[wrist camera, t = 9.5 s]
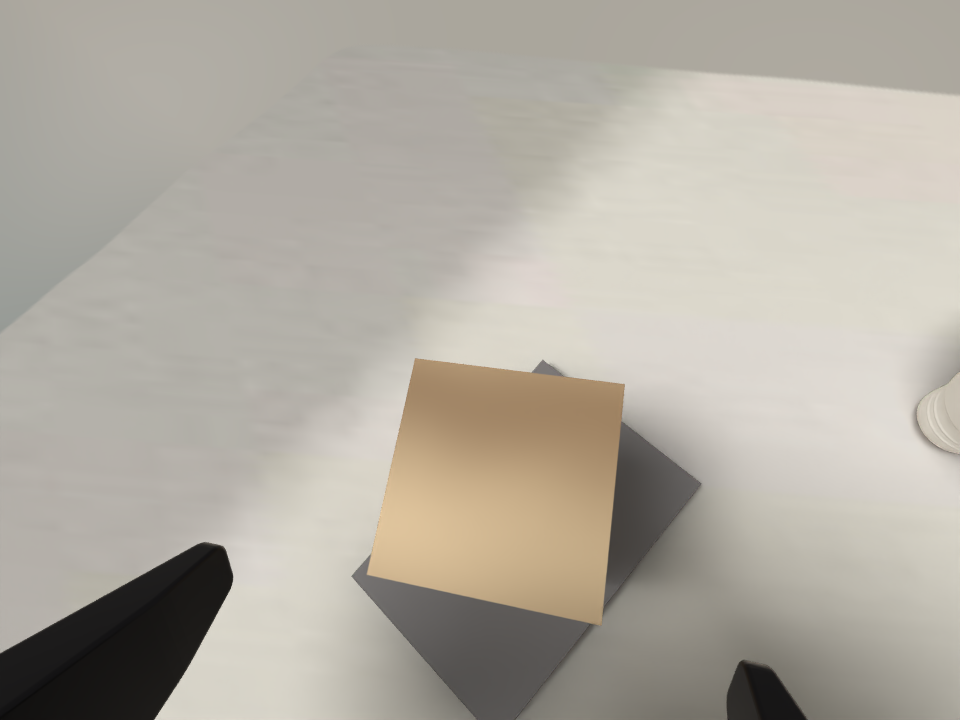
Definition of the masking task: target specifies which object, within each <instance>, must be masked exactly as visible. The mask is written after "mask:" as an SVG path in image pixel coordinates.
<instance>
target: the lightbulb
mask: <svg viewBox="0 0 960 720" xmlns="http://www.w3.org/2000/svg"><path fill="white" fill-rule="evenodd" d="M917 420H918V424H919V426H920V429H921V430H922V432H923V433H924V435H925V436H926V437H927V438H928V439H929V440H930V441H931V442H932V443H933V444H935V445H936V446H938V447H940V448H941V449H943V450H946V451H949V452H952V453H957V454H960V372H959V373H957V374H956V375H955V376H954V377H953V378H952V380H951V381H950V382H949V383H948V384H947V385H944V386H942V387H940V388H938V389H936V390H934V391H932V392H931V393H929V394H928V395H926V396H925V397H924V398H923V399H922V400H921V402H920V403H919V405H918V409H917Z"/></svg>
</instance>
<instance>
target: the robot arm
mask: <svg viewBox="0 0 960 720" xmlns="http://www.w3.org/2000/svg"><path fill="white" fill-rule="evenodd" d="M232 583H233V573H232V569H231V566H230V562H229V559H228V555H227V552H226V550H225V548H224V547H223V546H221V545H217V544H212V543H208V542H203V543H200V544H197V545H195V546H194V547H192V548H190V549H188V550H186V551H184V552H183V553H181V554H179V555H177V556H175V557H174V558H172V559H170V560H168V561H166V562H165V563H163V564H161V565H159V566H157V567H156V568H154V569H152V570H150V571H148V572H146V573H145V574H143V575H141V576H139V577H137V578H136V579H134V580H132V581H130V582H128V583H127V584H125V585H123V586H121V587H119V588H118V589H116V590H114V591H112V592H110V593H109V594H107V595H105V596H103V597H101V598H99V599H98V600H96V601H94V602H92V603H90V604H89V605H87V606H85V607H83V608H81V609H80V610H78V611H76V612H74V613H72V614H71V615H69V616H67V617H65V618H63V619H62V620H60V621H58V622H56V623H54V624H52V625H51V626H49V627H47V628H45V629H43V630H42V631H40V632H38V633H36V634H34V635H33V636H31V637H29V638H27V639H25V640H24V641H22V642H20V643H18V644H16V645H15V646H13V647H11V648H9V649H7V650H5V651H4V652H2V653H0V720H154V719H155V718H156V716H157V715H158V713H159V712H160V710H161V709H162V707H163V706H164V704H165V702H166V701H167V699H168V698H169V696H170V695H171V693H172V692H173V690H174V689H175V687H176V686H177V684H178V683H179V681H180V679H181V678H182V676H183V675H184V673H185V671H186V670H187V668H188V666H189V665H190V663H191V661H192V659H193V658H194V656H195V654H196V652H197V650H198V648H199V647H200V645H201V643H202V641H203V639H204V637H205V635H206V634H207V632H208V630H209V628H210V626H211V624H212V622H213V621H214V619H215V617H216V615H217V613H218V611H219V609H220V608H221V606H222V604H223V602H224V600H225V598H226V596H227V595H228V593H229V591H230V589H231V586H232ZM727 718H728V720H808V719H807V718H806V716H805V715H804V713H803V712H802V710H801V709H800V708H799V706H798V705H797V703H796V702H795V700H794V699H793V697H792V696H791V695H790V693H789V692H788V690H787V689H786V687H785V686H784V684H783V683H782V681H781V680H780V679H779V677H778V676H777V674H776V673H775V672H774V670H773V669H772V668H770V667H769V666H767V665H765V664H760V663H756V662H751V661H747V660H742V661H741V662H739V664H738V666H737V669H736V671H735V674H734V676H733V679H732V681H731V684H730V687H729V689H728V693H727Z"/></svg>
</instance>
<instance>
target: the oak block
mask: <svg viewBox="0 0 960 720" xmlns="http://www.w3.org/2000/svg"><path fill="white" fill-rule="evenodd" d="M624 387H625V384H618V383H610V382H602V381H594V380H586V379H578V378H570V377H562V376H554V375H545V374H537V373H529V372H521V371H513V370H505V369H497V368H489V367H481V366H473V365H464V364H456V363H448V362H440V361H432V360H424V359H416V358H415V361H414V366H413V370H412V375H411V379H410V384H409V388H408V393H407V397H406V402H405V406H404V411H403V415H402V420H401V424H400V428H399V433H398V437H397V442H396V446H395V451H394V455H393V460H392V464H391V469H390V473H389V478H388V482H387V486H386V491H385V495H384V500H383V504H382V509H381V513H380V518H379V522H378V527H377V531H376V536H375V540H374V545H373V549H372V553H371V558H370V562H369V567H368V571H367V575H371V576H375V577H380V578H384V579H389V580H394V581H398V582H403V583H407V584H412V585H416V586H421V587H426V588H430V589H435V590H439V591H444V592H449V593H453V594H458V595H462V596H467V597H472V598H476V599H481V600H485V601H490V602H495V603H499V604H504V605H508V606H513V607H518V608H522V609H527V610H531V611H536V612H541V613H545V614H550V615H554V616H559V617H564V618H568V619H573V620H577V621H582V622H587V623H591V624H596V625H600V626H601V624H602V614H603V604H604V593H605V583H606V573H607V562H608V552H609V542H610V531H611V521H612V511H613V500H614V490H615V480H616V469H617V459H618V449H619V439H620V428H621V418H622V408H623V397H624Z"/></svg>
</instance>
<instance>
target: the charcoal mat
mask: <svg viewBox="0 0 960 720" xmlns="http://www.w3.org/2000/svg"><path fill="white" fill-rule="evenodd" d="M532 373H537V374H545V375H554V376H562V377H564V376H563V375H561V374H560V373H559V372H558V371H556V370H555V369H554V368H553V367H551V366H550V365H549V364H547V363H546V362H545V361H544V360H542V361H541V362H540V364H539V365H538V366H537V367H536V368H535V369H534V370H533V372H532ZM700 485H701V483H700V482H698V481H697V480H696V479H695V478H693V477H692V476H691V475H690V474H688V473H687V472H686V471H684V470H683V469H682V468H681V467H679V466H678V465H677V464H675V463H674V462H673V461H672V460H670V459H669V458H668V457H666V456H665V455H664V454H663V453H661V452H660V451H659V450H658V449H656V448H655V447H654V446H652V445H651V444H650V443H649V442H647V441H646V440H645V439H643V438H642V437H641V436H640V435H638V434H637V433H636V432H634V431H633V430H632V429H631V428H629V427H628V426H627V425H625V424H624V423H623V422H622V421H621V428H620V439H619V449H618V459H617V469H616V480H615V490H614V500H613V511H612V521H611V531H610V542H609V552H608V562H607V573H606V583H605V593H604V604H603V607H604V606H605V605H606V604H607V602H608V601H609V600H610V599H611V597H612V596H613V595H614V594H615V592H616V591H617V590H618V588H619V587H620V586H621V585H622V583H623V582H624V581H625V580H626V578H627V577H628V576H629V575H630V573H631V572H632V571H633V570H634V568H635V567H636V566H637V564H638V563H639V562H640V561H641V559H642V558H643V557H644V556H645V554H646V553H647V552H648V551H649V549H650V548H651V547H652V545H653V544H654V543H655V542H656V540H657V539H658V538H659V537H660V535H661V534H662V533H663V532H664V530H665V529H666V528H667V527H668V525H669V524H670V523H671V521H672V520H673V519H674V518H675V516H676V515H677V514H678V513H679V511H680V510H681V509H682V508H683V506H684V505H685V504H686V503H687V501H688V500H689V499H690V497H691V496H692V495H693V494H694V492H695V491H696V490H697V489H698V487H699V486H700ZM370 558H371V555H370V556H369V557H368V558H367V559H366V560H365V561H364V563H363V564H362V565H361V566H360V567H359V568H358V569H357V571H356V572H355V573H354V574H353V575H352V577H353V579H354V580H355V581H356V582H357V583H358V584H359V585H360V587H361V588H362V589H363V590H364V591H365V592H366V593H367V595H368V596H369V597H370V598H371V599H372V600H373V601H374V603H375V604H376V605H377V606H378V607H379V608H380V609H381V610H382V612H383V613H384V614H385V615H386V616H387V617H388V618H389V620H390V621H391V622H392V623H393V624H394V625H395V626H396V628H397V629H398V630H399V631H400V632H401V633H402V634H403V636H404V637H405V638H406V639H407V640H408V641H409V642H410V644H411V645H412V646H413V647H414V648H415V649H416V650H417V651H418V653H419V654H420V655H421V656H422V657H423V658H424V659H425V661H426V662H427V663H428V664H429V665H430V666H431V667H432V669H433V670H434V671H435V672H436V673H437V674H438V675H439V677H440V678H441V679H442V680H443V681H444V682H445V683H446V684H447V686H448V687H449V688H450V689H451V690H452V691H453V692H454V694H455V695H456V696H457V697H458V698H459V699H460V700H461V702H462V703H463V704H464V705H465V706H466V707H467V708H468V710H469V711H470V712H471V713H472V714H473V715H474V716H475V717H476V719H477V720H515V719H516V717H517V716H518V715H519V714H520V712H521V711H522V710H523V709H524V707H525V706H526V705H527V703H528V702H529V701H530V700H531V698H532V697H533V696H534V695H535V693H536V692H537V691H538V690H539V688H540V687H541V686H542V685H543V683H544V682H545V681H546V679H547V678H548V677H549V676H550V674H551V673H552V672H553V671H554V669H555V668H556V667H557V666H558V664H559V663H560V662H561V661H562V659H563V658H564V657H565V655H566V654H567V653H568V652H569V650H570V649H571V648H572V647H573V645H574V644H575V643H576V642H577V640H578V639H579V638H580V636H581V635H582V634H583V633H584V631H585V630H586V629H587V628H588V626H589V625H590V624H591V623H587V622H582V621H577V620H573V619H568V618H564V617H559V616H554V615H550V614H545V613H541V612H536V611H531V610H527V609H522V608H518V607H513V606H508V605H504V604H499V603H495V602H490V601H485V600H481V599H476V598H472V597H467V596H462V595H458V594H453V593H449V592H444V591H439V590H435V589H430V588H426V587H421V586H416V585H412V584H407V583H403V582H398V581H394V580H389V579H384V578H380V577H375V576H371V575H367V571H368V567H369V562H370Z"/></svg>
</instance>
